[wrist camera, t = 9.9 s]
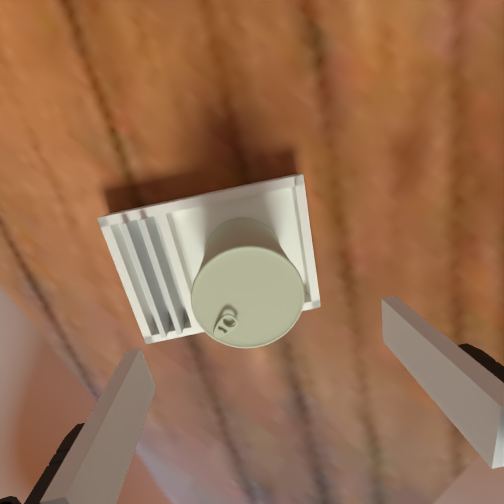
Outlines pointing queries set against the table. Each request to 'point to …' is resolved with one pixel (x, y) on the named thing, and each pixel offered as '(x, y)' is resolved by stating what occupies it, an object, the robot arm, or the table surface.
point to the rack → (200, 247)
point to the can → (246, 286)
